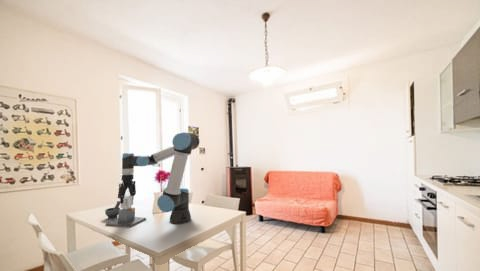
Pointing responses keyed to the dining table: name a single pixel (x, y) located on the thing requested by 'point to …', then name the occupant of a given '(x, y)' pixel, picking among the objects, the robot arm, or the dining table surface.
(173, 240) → the dining table surface
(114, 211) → the mortar and pestle
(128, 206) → the column
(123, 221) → the stand
